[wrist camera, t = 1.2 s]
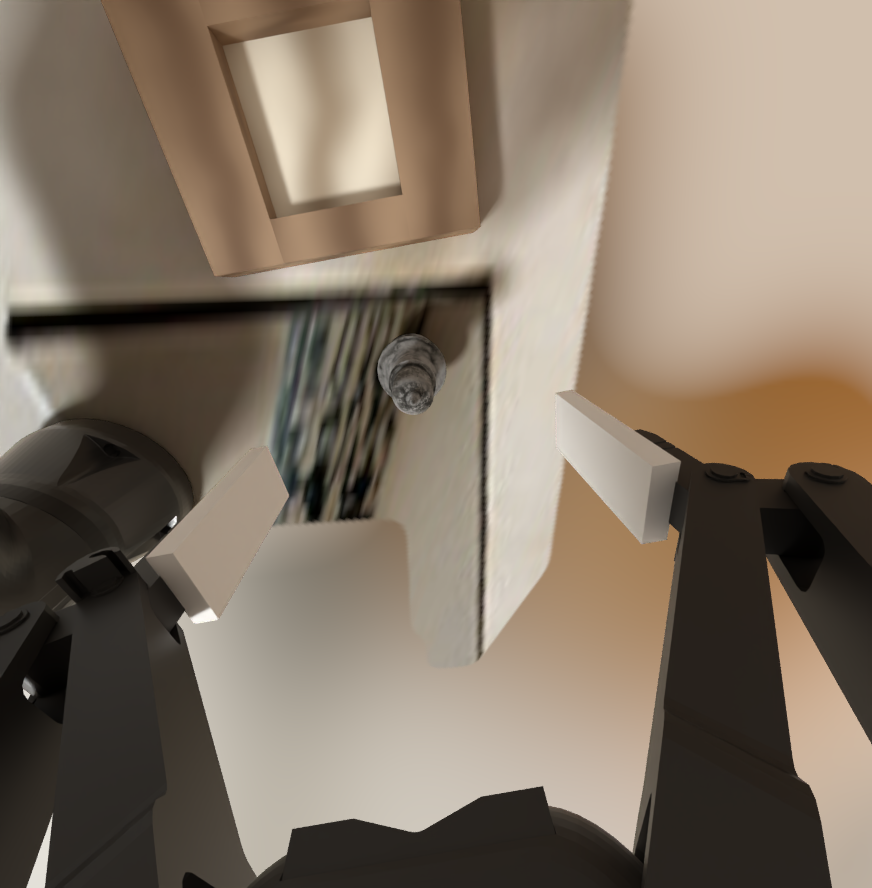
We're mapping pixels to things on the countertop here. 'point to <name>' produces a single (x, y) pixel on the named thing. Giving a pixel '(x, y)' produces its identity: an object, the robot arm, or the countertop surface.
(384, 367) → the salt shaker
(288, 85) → the wooden frame
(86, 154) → the countertop surface
